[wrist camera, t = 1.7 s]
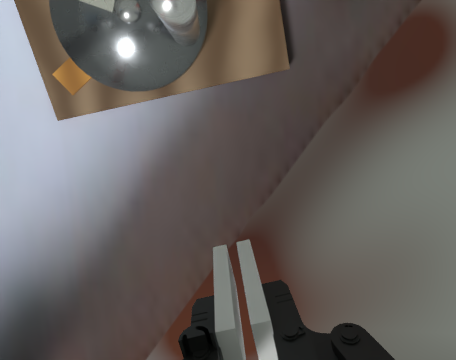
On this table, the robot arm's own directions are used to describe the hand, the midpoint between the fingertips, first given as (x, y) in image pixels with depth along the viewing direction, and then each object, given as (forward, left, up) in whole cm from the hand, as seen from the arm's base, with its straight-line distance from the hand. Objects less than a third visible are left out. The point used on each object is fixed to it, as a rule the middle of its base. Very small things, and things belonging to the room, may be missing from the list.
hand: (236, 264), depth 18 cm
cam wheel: (-7, +20, -23) cm, 31 cm away
